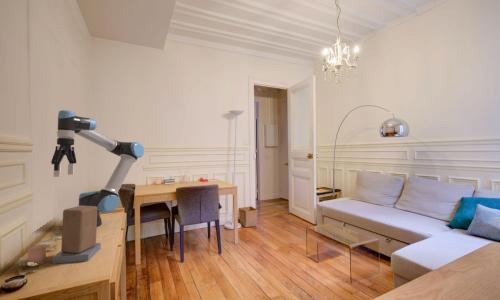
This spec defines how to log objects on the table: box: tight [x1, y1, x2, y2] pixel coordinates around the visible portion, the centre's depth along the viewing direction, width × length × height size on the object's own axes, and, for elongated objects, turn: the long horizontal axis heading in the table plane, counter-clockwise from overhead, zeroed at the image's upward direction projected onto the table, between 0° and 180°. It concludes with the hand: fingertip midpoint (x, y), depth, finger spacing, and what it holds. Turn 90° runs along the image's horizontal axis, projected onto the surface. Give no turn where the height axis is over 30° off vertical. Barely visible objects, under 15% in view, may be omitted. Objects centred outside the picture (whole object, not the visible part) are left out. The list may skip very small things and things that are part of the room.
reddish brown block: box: [26, 244, 47, 266], centre depth 99 cm, size 6×6×7 cm
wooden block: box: [60, 205, 98, 253], centre depth 108 cm, size 10×10×20 cm
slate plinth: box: [51, 242, 102, 265], centre depth 108 cm, size 14×14×3 cm
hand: (64, 175), depth 126 cm, fingers open, 13 cm apart
